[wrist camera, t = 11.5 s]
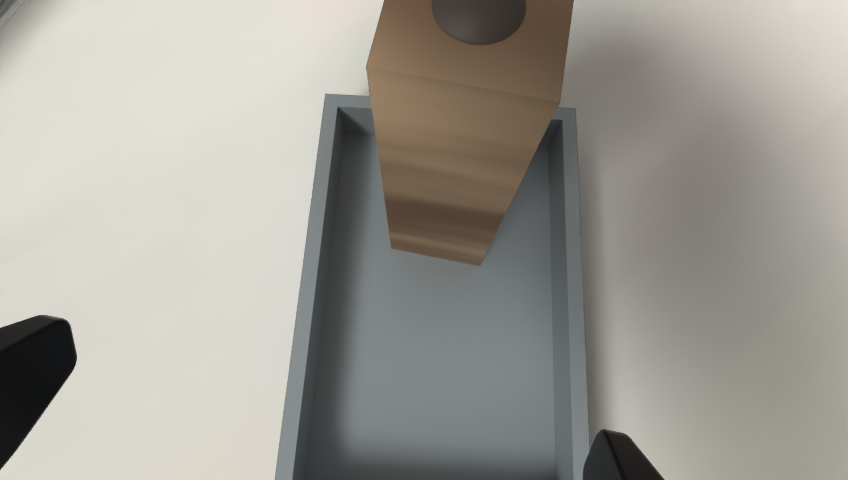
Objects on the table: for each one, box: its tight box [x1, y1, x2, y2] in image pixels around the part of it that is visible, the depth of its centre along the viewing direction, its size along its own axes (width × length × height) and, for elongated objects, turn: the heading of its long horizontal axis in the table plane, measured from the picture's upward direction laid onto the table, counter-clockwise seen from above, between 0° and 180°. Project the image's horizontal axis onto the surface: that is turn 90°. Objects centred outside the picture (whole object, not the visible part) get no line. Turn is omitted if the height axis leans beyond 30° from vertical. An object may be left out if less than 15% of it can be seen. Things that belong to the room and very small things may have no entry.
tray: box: [275, 94, 590, 480], centre depth 21 cm, size 17×11×3 cm, turn 177°
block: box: [366, 0, 574, 266], centre depth 17 cm, size 4×4×13 cm
